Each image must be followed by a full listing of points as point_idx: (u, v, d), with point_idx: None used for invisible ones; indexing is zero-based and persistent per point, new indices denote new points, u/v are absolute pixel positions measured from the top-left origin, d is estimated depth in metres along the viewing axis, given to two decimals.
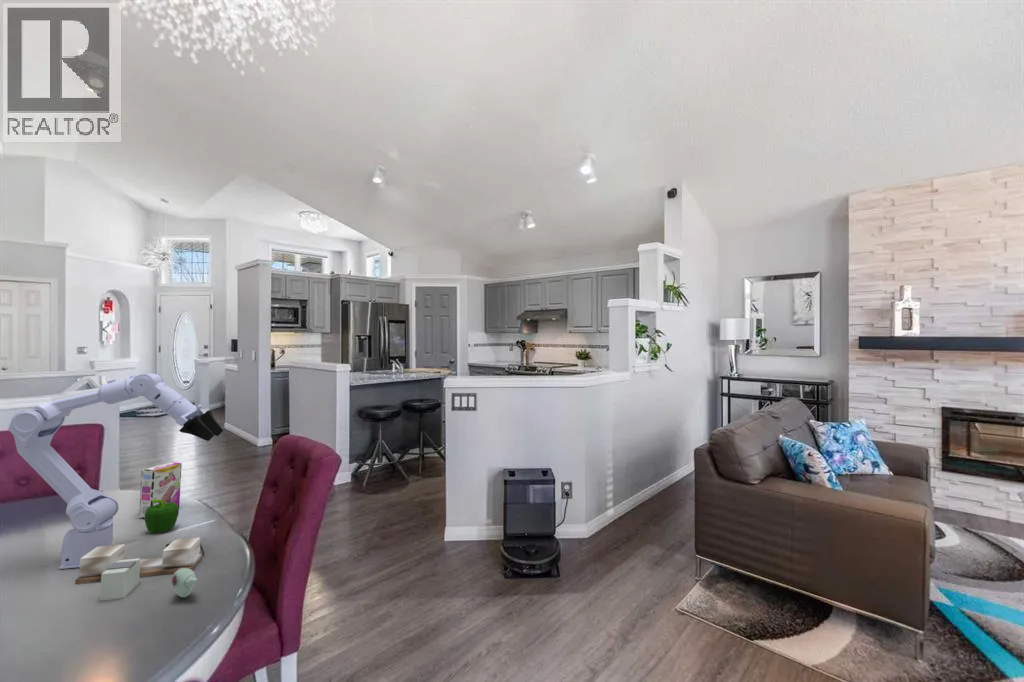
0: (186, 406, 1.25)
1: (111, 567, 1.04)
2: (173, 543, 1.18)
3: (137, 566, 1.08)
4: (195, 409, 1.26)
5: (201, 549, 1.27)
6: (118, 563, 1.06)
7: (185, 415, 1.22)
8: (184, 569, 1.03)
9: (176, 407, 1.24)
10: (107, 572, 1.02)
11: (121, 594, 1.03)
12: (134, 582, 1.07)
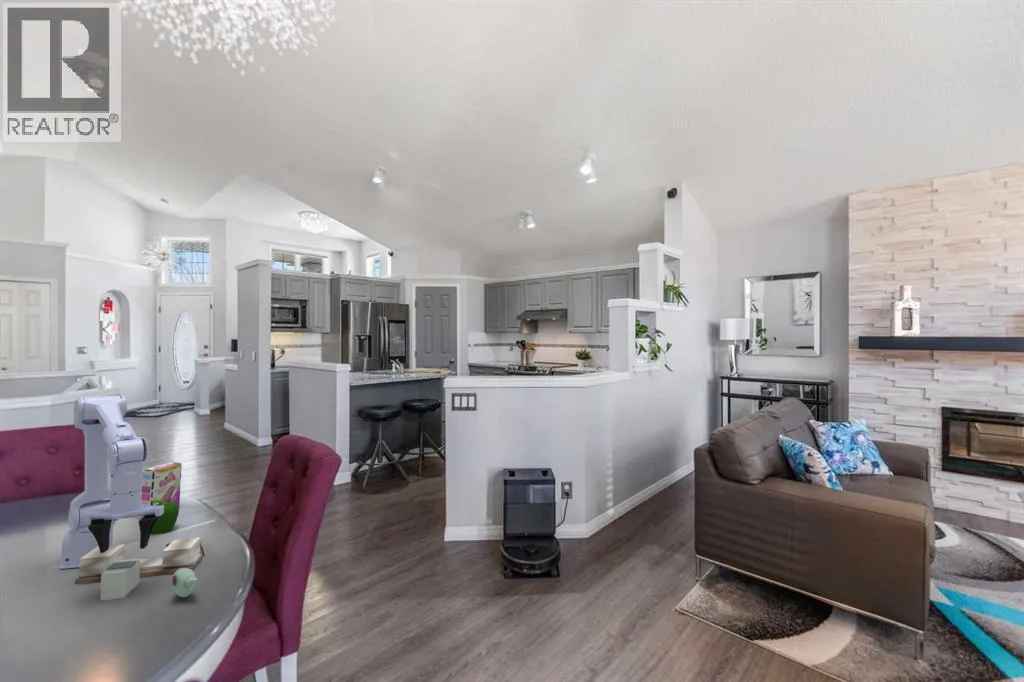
0: (111, 505, 1.04)
1: (111, 567, 1.04)
2: (173, 543, 1.18)
3: (137, 566, 1.08)
4: (111, 516, 1.03)
5: (201, 549, 1.27)
6: (118, 563, 1.06)
7: (93, 515, 1.03)
8: (184, 569, 1.03)
9: None
10: (107, 572, 1.02)
11: (121, 594, 1.03)
12: (134, 582, 1.07)
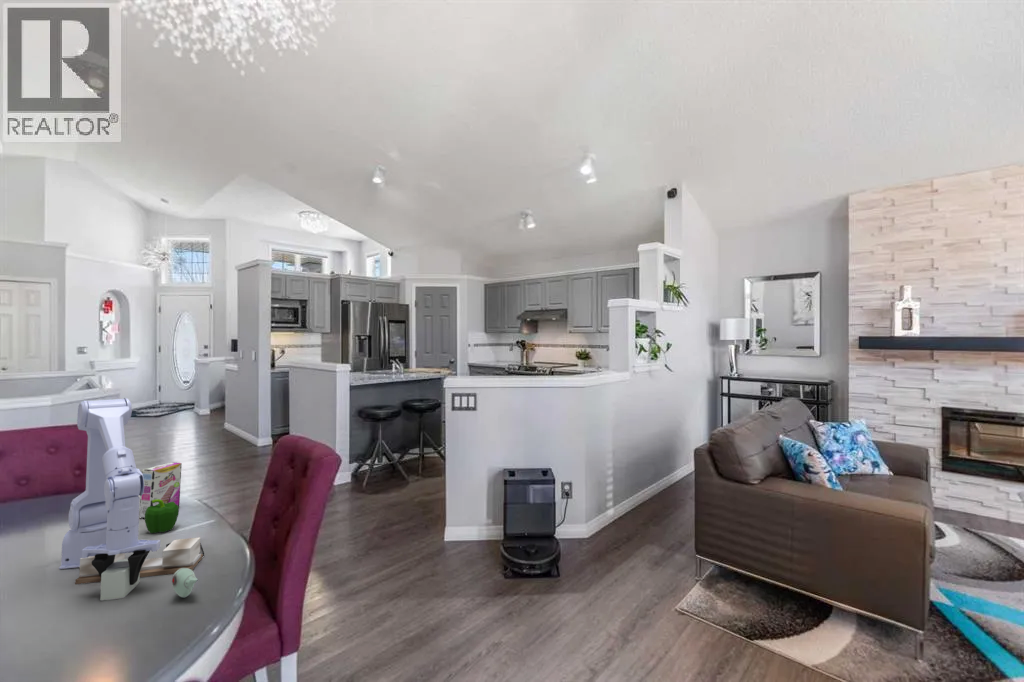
0: (107, 541, 1.03)
1: (111, 567, 1.04)
2: (173, 543, 1.18)
3: None
4: (108, 552, 1.03)
5: (201, 549, 1.27)
6: (118, 563, 1.06)
7: (90, 551, 1.03)
8: (184, 569, 1.03)
9: None
10: (107, 572, 1.02)
11: (121, 594, 1.03)
12: None
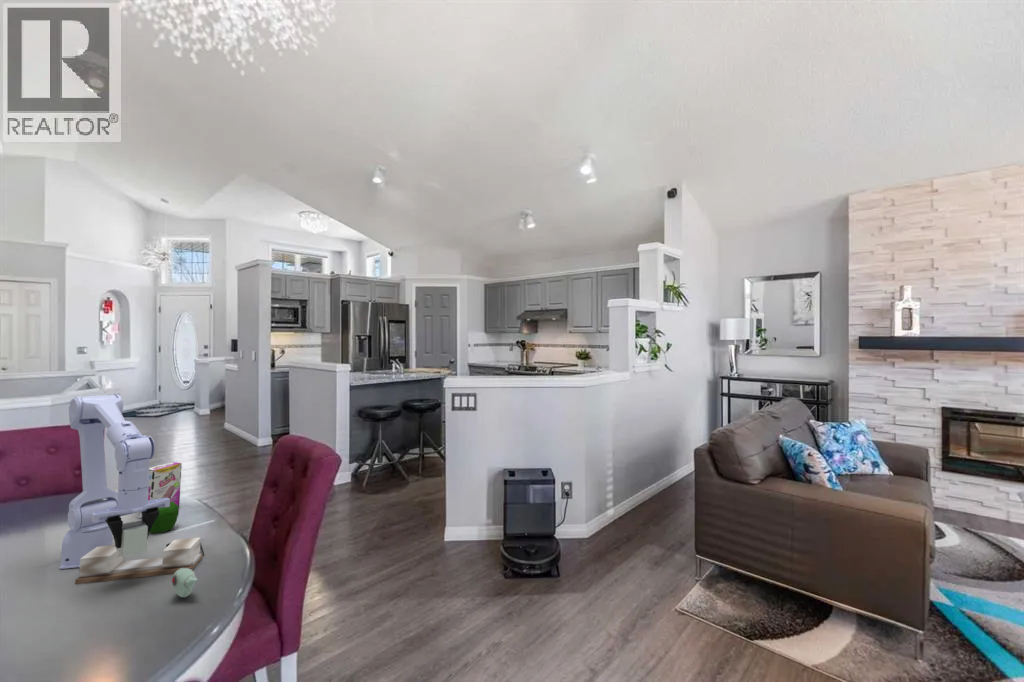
0: (125, 502, 1.07)
1: (125, 527, 1.08)
2: (173, 543, 1.18)
3: None
4: (128, 511, 1.07)
5: (201, 549, 1.26)
6: (126, 524, 1.10)
7: (104, 514, 1.05)
8: (184, 569, 1.03)
9: (119, 495, 1.08)
10: (129, 530, 1.07)
11: (144, 548, 1.09)
12: None
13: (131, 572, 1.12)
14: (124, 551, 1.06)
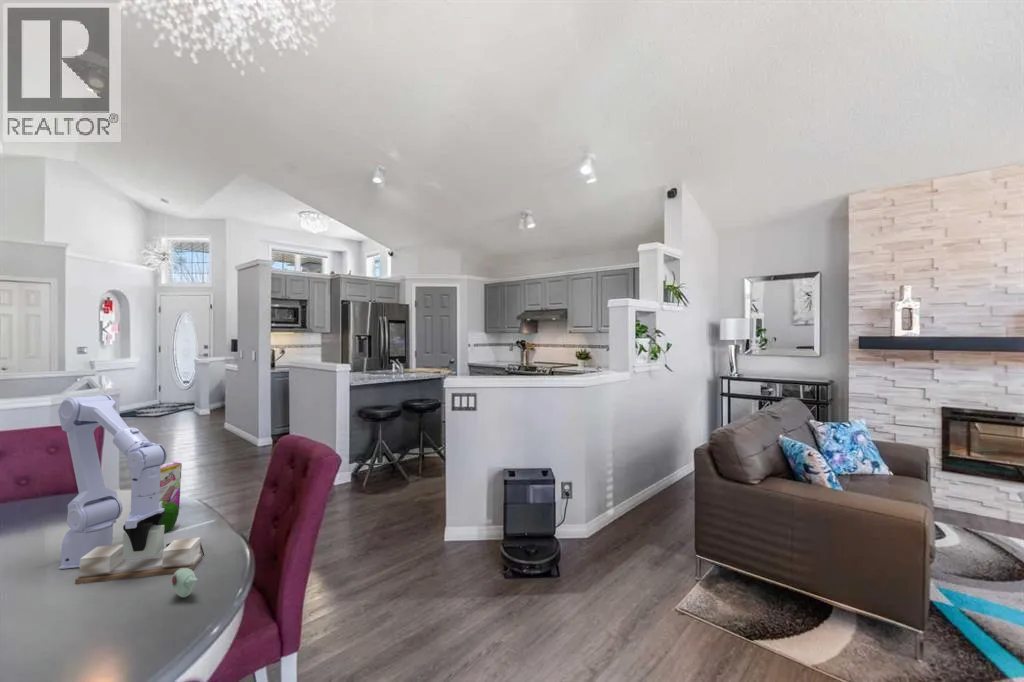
0: (150, 505, 1.15)
1: None
2: (173, 543, 1.18)
3: None
4: (154, 513, 1.15)
5: (201, 549, 1.26)
6: None
7: (140, 519, 1.11)
8: (184, 569, 1.03)
9: (143, 501, 1.13)
10: (156, 529, 1.15)
11: (163, 544, 1.18)
12: None
13: (131, 572, 1.12)
14: (156, 549, 1.15)
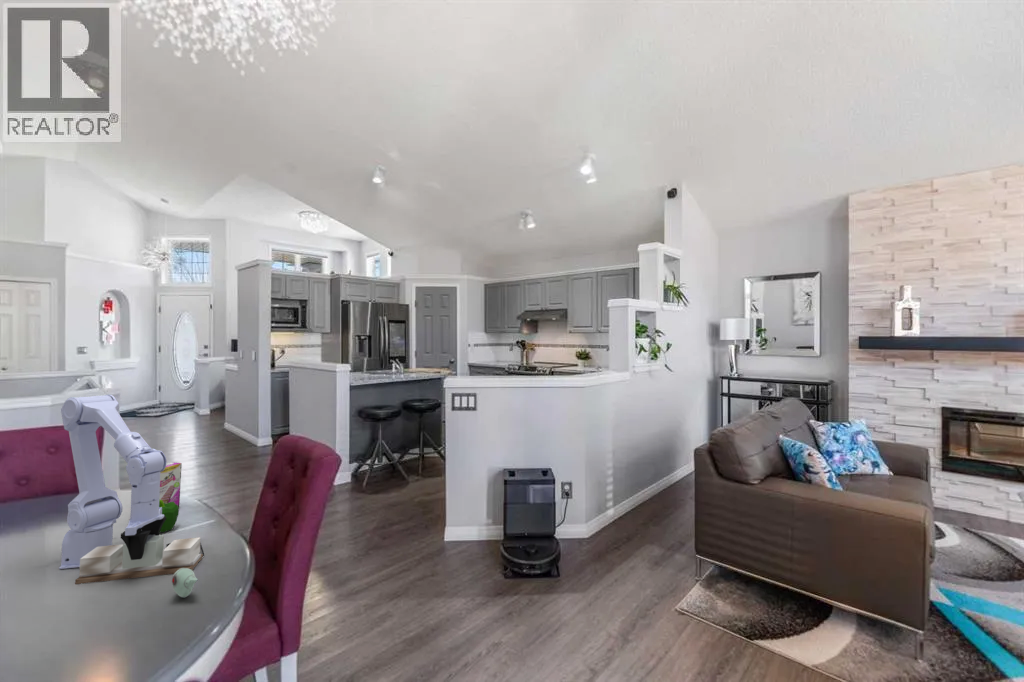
0: (150, 511, 1.15)
1: (146, 540, 1.15)
2: (173, 543, 1.18)
3: None
4: (154, 519, 1.15)
5: (201, 549, 1.26)
6: None
7: (139, 525, 1.11)
8: (184, 569, 1.03)
9: (142, 507, 1.13)
10: (156, 540, 1.15)
11: (162, 555, 1.18)
12: None
13: (131, 572, 1.12)
14: (155, 559, 1.15)
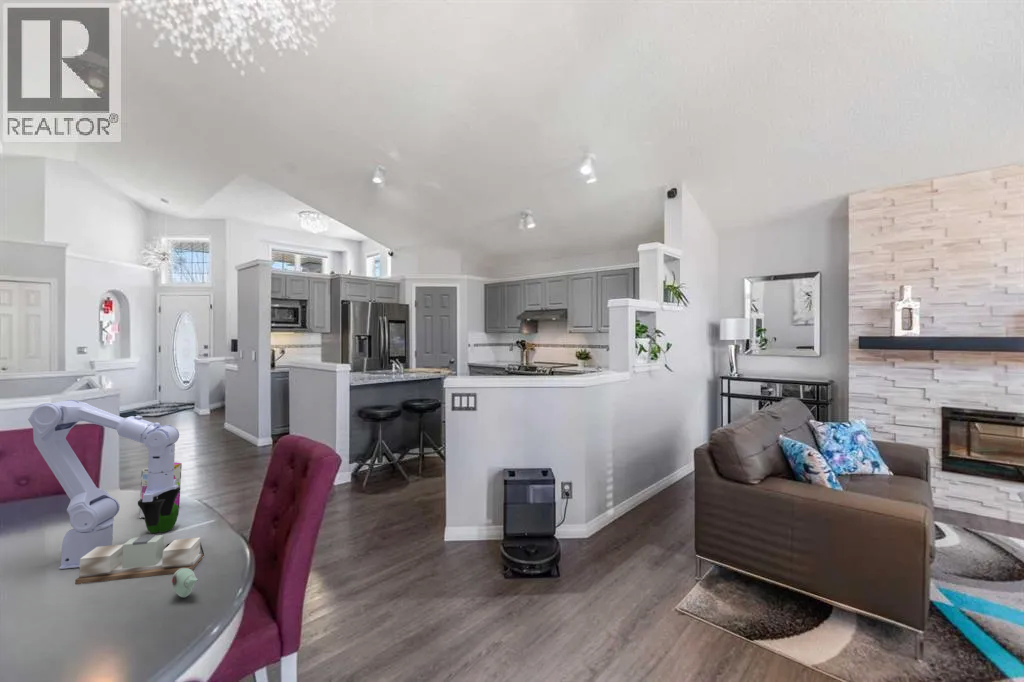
0: (165, 481, 1.23)
1: (146, 540, 1.15)
2: (173, 543, 1.18)
3: None
4: (169, 489, 1.23)
5: (201, 549, 1.26)
6: (138, 540, 1.14)
7: (156, 493, 1.19)
8: (184, 569, 1.03)
9: (158, 477, 1.22)
10: (156, 540, 1.15)
11: (162, 555, 1.18)
12: None
13: (131, 572, 1.12)
14: (155, 559, 1.15)
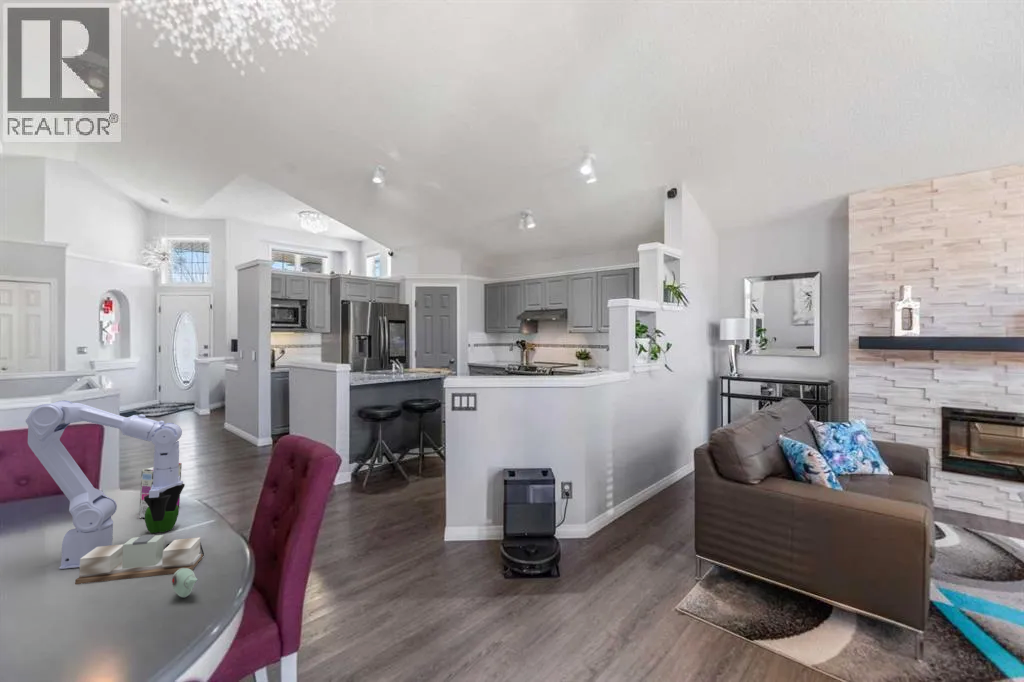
0: (171, 478, 1.26)
1: (146, 540, 1.15)
2: (173, 543, 1.18)
3: None
4: (174, 485, 1.26)
5: (201, 549, 1.26)
6: (138, 540, 1.14)
7: (162, 489, 1.22)
8: (184, 569, 1.03)
9: (164, 473, 1.25)
10: (156, 540, 1.15)
11: (162, 555, 1.18)
12: None
13: (131, 572, 1.12)
14: (155, 559, 1.15)
